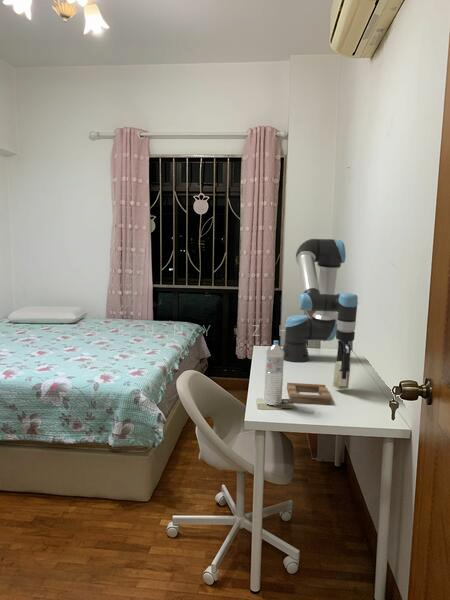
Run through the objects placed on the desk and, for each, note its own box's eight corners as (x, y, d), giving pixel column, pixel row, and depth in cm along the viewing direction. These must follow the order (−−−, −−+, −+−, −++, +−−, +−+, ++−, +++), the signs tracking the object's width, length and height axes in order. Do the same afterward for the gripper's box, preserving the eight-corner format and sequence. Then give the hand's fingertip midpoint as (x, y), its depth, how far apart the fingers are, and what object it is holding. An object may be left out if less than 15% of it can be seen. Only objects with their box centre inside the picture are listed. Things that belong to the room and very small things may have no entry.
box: (338, 389, 181) (341, 364, 179) (332, 385, 185) (334, 361, 183) (348, 388, 183) (351, 363, 181) (342, 384, 187) (344, 360, 185)
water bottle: (263, 399, 171) (266, 338, 168) (280, 400, 171) (284, 339, 168) (264, 406, 165) (267, 342, 161) (282, 407, 164) (286, 343, 161)
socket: (286, 388, 185) (287, 382, 185) (324, 390, 184) (324, 384, 184) (290, 402, 169) (290, 396, 169) (331, 404, 169) (331, 398, 168)
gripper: (332, 324, 190) (328, 375, 193) (341, 335, 171) (336, 390, 175) (349, 325, 189) (345, 375, 193) (360, 336, 171) (355, 391, 174)
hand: (341, 382), depth 184 cm, fingers closed on box, 6 cm apart
